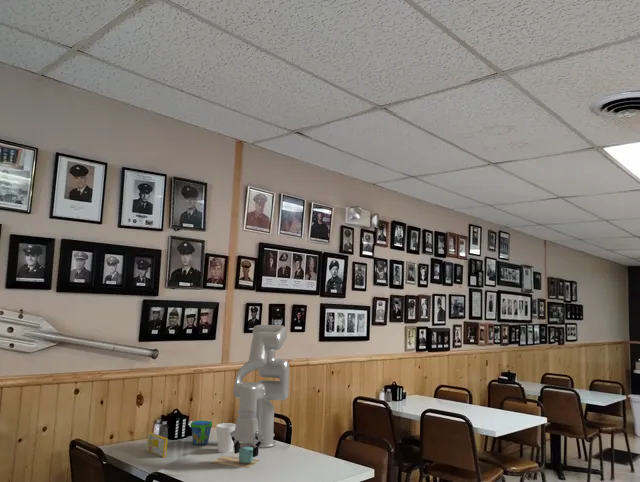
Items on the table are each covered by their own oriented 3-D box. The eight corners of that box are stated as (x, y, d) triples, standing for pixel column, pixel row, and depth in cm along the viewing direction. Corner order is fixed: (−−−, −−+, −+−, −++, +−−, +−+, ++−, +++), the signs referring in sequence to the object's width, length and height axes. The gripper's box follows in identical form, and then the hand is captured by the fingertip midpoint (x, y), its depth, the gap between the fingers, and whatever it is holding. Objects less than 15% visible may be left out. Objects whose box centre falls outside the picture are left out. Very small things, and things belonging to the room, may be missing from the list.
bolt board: (223, 459, 238) (223, 446, 239) (259, 463, 233) (260, 450, 233) (210, 466, 227) (210, 453, 227) (248, 471, 221) (248, 458, 222)
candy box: (167, 457, 240) (168, 438, 241) (162, 457, 238) (163, 439, 239) (150, 449, 251) (151, 431, 252) (146, 450, 250) (147, 432, 251)
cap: (235, 461, 227) (236, 449, 228) (244, 457, 233) (244, 446, 233) (247, 463, 224) (248, 451, 225) (255, 459, 230) (256, 448, 231)
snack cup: (211, 447, 257) (212, 425, 259) (189, 448, 255) (190, 426, 256) (210, 439, 273) (211, 419, 274) (189, 440, 270) (191, 419, 271)
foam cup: (218, 457, 240) (219, 428, 242) (212, 452, 248) (213, 424, 250) (238, 455, 245) (239, 426, 246) (231, 450, 253) (233, 422, 254)
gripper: (226, 413, 232) (224, 453, 230) (259, 418, 224) (257, 459, 222) (236, 410, 238) (235, 449, 236) (268, 415, 230) (267, 455, 228)
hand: (246, 454), depth 229 cm, fingers open, 9 cm apart
